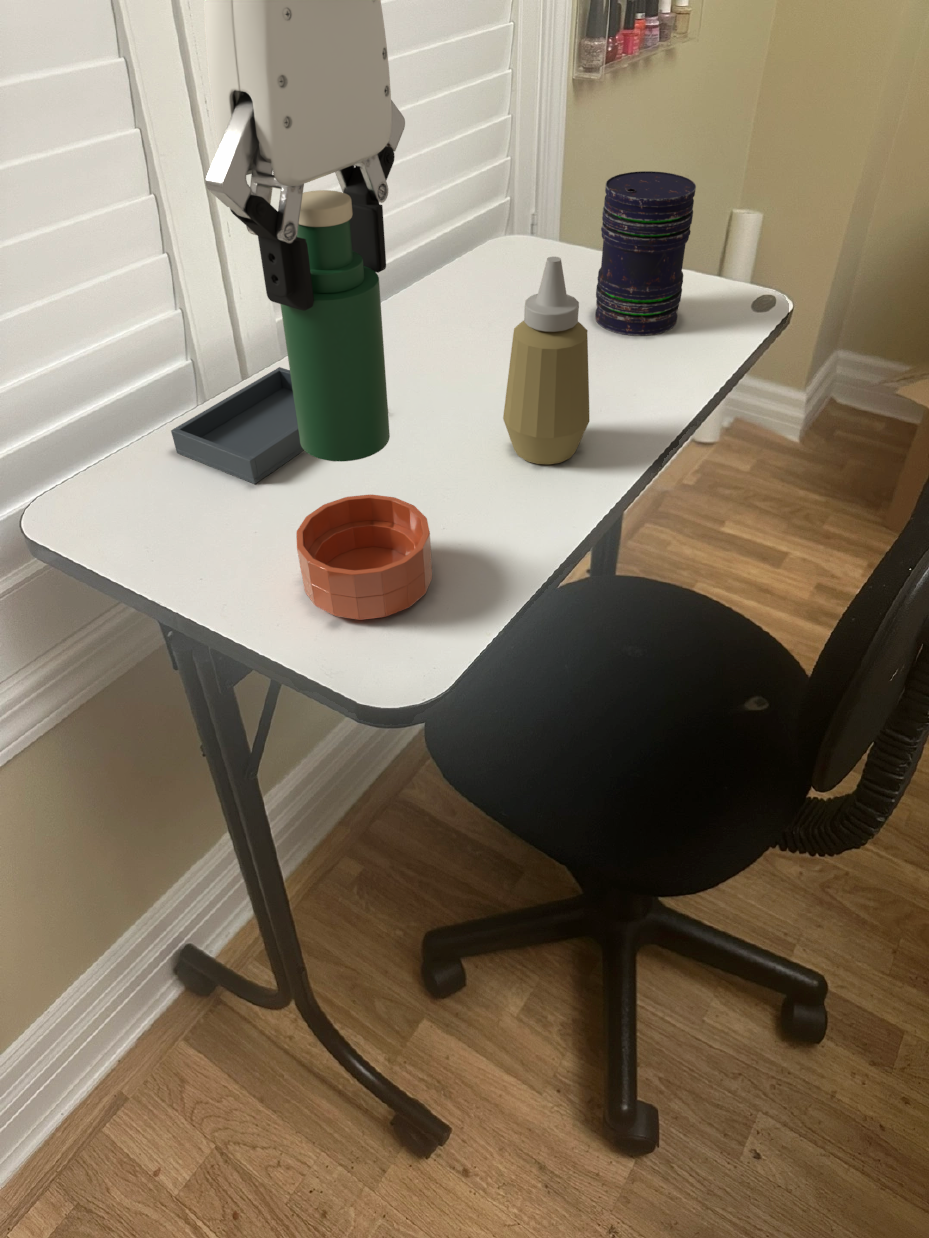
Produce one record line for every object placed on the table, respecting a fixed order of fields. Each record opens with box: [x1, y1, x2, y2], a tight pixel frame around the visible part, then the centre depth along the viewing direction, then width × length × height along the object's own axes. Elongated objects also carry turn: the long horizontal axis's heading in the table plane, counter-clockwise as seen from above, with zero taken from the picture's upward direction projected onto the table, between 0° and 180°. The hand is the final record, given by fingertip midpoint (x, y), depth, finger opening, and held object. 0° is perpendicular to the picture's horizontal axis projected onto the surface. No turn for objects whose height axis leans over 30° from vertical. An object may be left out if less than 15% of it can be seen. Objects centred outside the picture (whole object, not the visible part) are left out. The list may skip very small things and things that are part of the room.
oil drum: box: [594, 170, 697, 337], centre depth 103 cm, size 10×10×15 cm
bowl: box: [296, 494, 433, 621], centre depth 70 cm, size 10×10×5 cm
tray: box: [170, 366, 305, 485], centre depth 89 cm, size 15×10×2 cm
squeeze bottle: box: [502, 256, 590, 465], centre depth 80 cm, size 8×8×18 cm
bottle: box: [279, 189, 391, 462], centre depth 58 cm, size 6×6×16 cm
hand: (328, 282), depth 56 cm, fingers closed on bottle, 6 cm apart
